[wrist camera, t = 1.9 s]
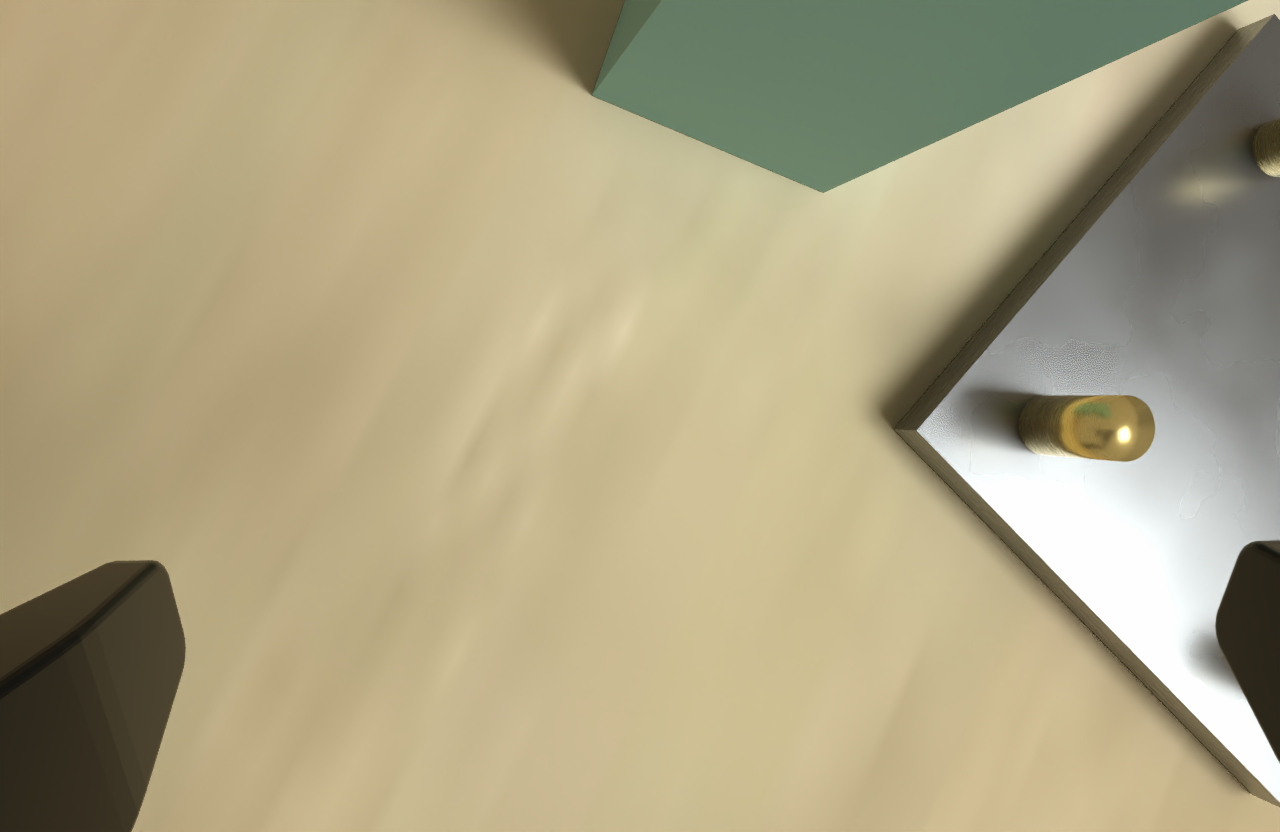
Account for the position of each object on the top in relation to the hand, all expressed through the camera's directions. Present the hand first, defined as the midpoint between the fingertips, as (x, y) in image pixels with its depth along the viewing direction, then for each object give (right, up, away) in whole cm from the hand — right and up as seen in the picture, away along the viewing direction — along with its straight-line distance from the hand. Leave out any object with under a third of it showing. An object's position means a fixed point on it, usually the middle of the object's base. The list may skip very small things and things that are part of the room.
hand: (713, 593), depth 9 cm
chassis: (+13, +2, +16) cm, 20 cm away
